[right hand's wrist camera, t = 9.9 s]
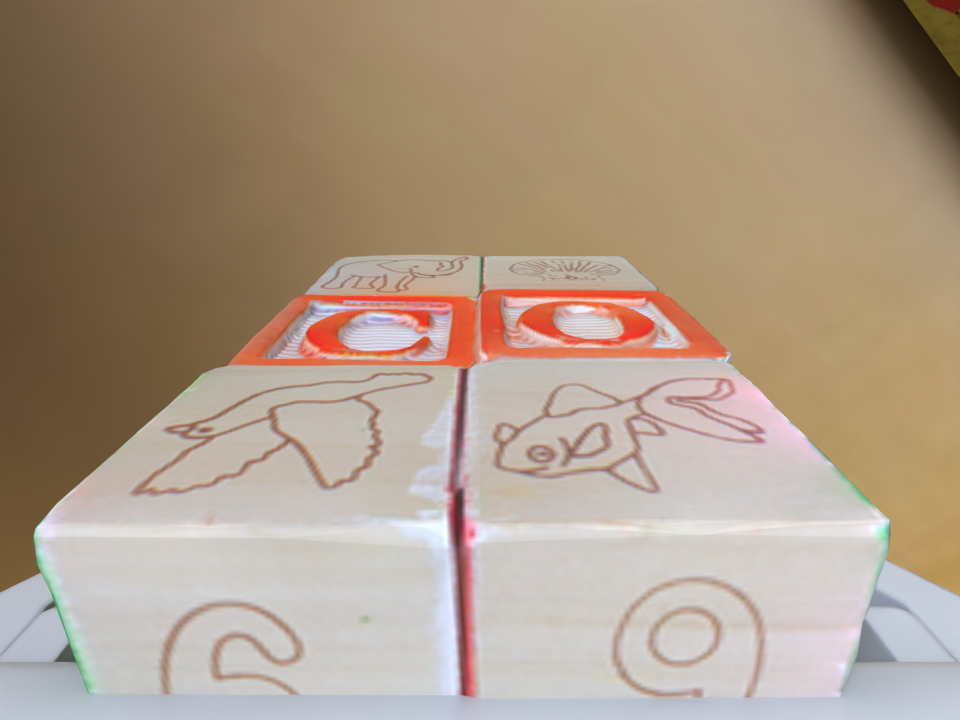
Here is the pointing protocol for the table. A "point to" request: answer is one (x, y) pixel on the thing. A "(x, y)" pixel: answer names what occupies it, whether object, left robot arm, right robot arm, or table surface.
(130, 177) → the table surface
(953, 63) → the toy gun
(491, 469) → the stack of blocks
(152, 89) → the table surface
